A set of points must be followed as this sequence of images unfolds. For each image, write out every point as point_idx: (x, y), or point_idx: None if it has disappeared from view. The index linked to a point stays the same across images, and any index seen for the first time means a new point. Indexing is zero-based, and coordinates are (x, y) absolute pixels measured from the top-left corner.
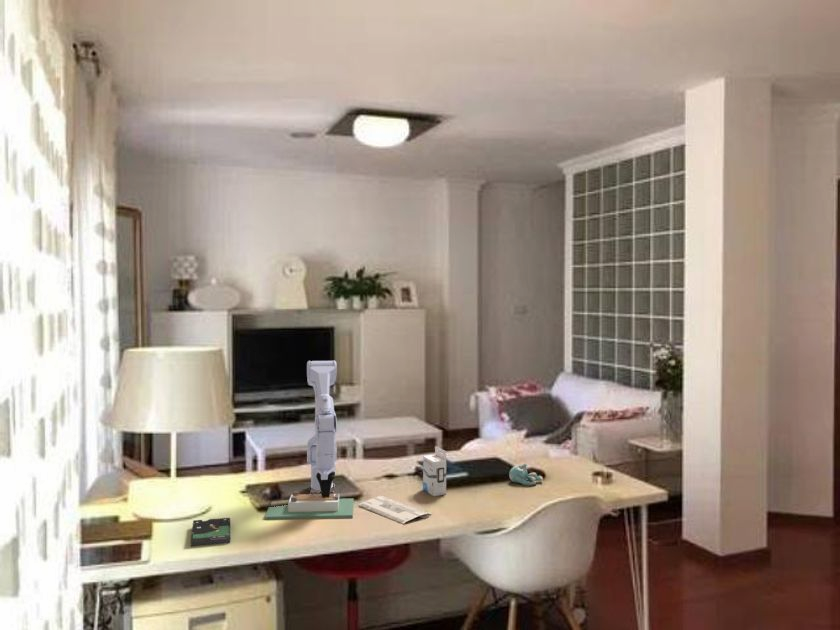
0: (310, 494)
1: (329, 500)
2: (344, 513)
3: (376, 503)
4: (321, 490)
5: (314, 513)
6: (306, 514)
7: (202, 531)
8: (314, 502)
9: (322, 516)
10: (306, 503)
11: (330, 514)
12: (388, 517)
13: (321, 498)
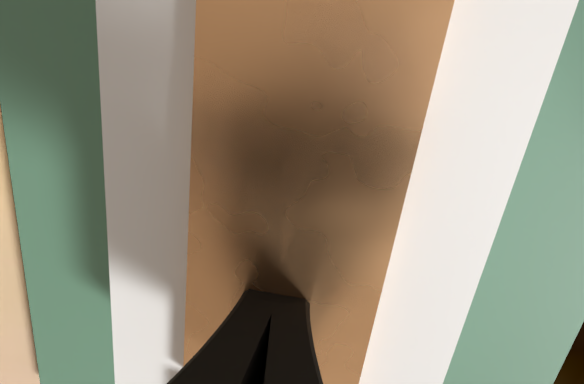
0: (400, 139)
1: (174, 333)
2: (80, 359)
3: None
4: (207, 347)
5: (76, 103)
6: (39, 3)
7: None
8: (104, 156)
9: (17, 174)
10: (102, 34)
11: (49, 253)
12: None
13: (187, 267)
